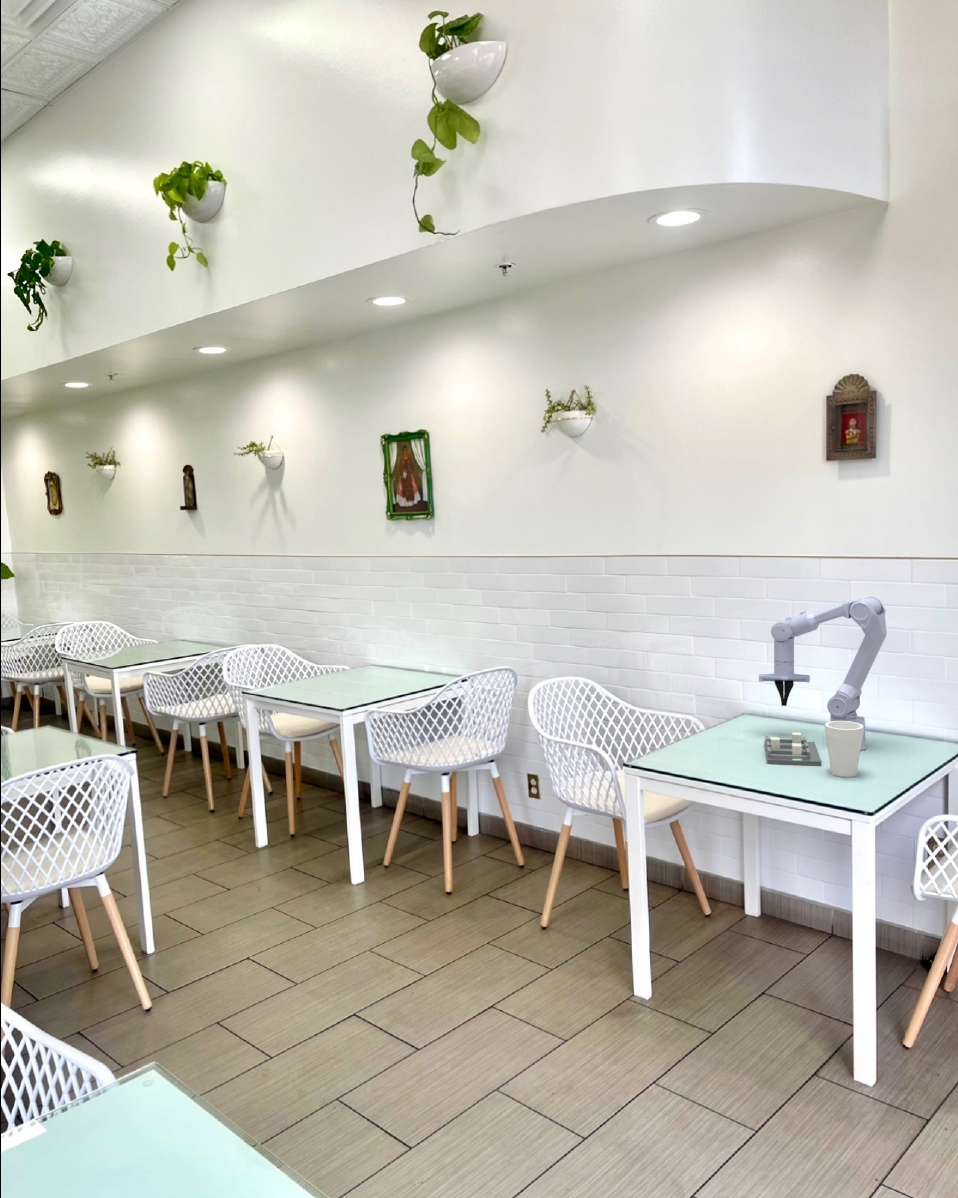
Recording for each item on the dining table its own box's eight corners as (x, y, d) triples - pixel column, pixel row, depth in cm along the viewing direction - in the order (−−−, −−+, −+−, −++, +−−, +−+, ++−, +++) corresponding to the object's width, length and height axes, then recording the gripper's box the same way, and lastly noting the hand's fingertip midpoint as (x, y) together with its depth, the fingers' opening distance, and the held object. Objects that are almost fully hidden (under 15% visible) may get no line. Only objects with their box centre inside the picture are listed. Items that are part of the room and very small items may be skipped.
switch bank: (814, 746, 275) (814, 735, 275) (821, 766, 256) (821, 754, 256) (764, 744, 279) (764, 734, 278) (767, 764, 260) (767, 752, 259)
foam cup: (865, 779, 243) (865, 730, 242) (827, 778, 246) (827, 729, 244) (859, 768, 253) (860, 721, 251) (823, 767, 255) (823, 720, 253)
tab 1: (779, 748, 270) (779, 737, 269) (779, 751, 267) (779, 740, 266) (770, 747, 270) (770, 737, 270) (770, 750, 267) (770, 739, 267)
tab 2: (800, 743, 274) (800, 732, 273) (801, 746, 271) (801, 735, 271) (791, 743, 274) (791, 732, 274) (792, 745, 271) (792, 734, 271)
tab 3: (800, 754, 262) (800, 743, 262) (801, 757, 260) (801, 746, 259) (791, 754, 263) (791, 743, 263) (792, 757, 260) (792, 746, 260)
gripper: (759, 662, 281) (759, 707, 283) (810, 663, 278) (810, 708, 279) (758, 658, 288) (758, 702, 290) (808, 659, 284) (808, 703, 286)
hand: (783, 705), depth 285 cm, fingers closed
